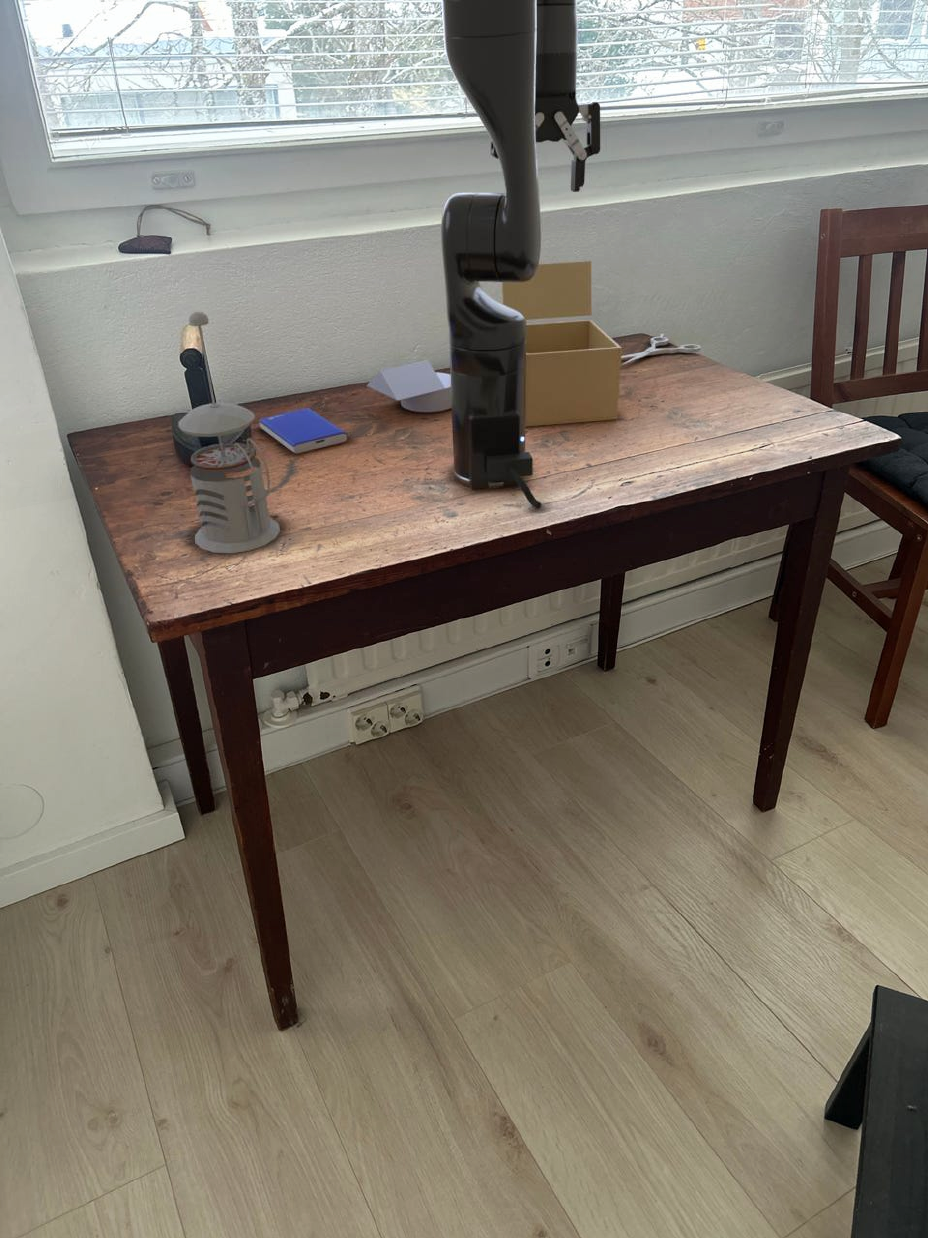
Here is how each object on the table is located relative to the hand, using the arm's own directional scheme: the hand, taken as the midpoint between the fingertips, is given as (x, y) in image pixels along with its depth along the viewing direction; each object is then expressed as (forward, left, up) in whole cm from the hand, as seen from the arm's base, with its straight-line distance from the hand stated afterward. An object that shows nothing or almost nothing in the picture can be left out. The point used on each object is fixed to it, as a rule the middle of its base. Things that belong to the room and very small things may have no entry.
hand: (544, 192), depth 120 cm
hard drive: (-3, +36, -30) cm, 47 cm away
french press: (-34, +43, -30) cm, 63 cm away
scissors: (+23, -25, -30) cm, 45 cm away
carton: (+1, -3, -30) cm, 30 cm away
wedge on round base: (+6, +18, -30) cm, 36 cm away
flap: (+10, -3, -15) cm, 18 cm away
